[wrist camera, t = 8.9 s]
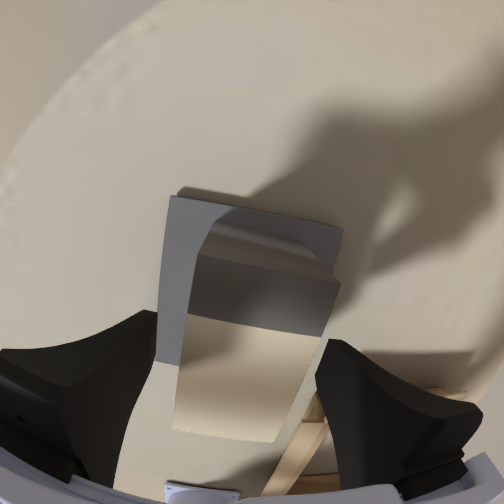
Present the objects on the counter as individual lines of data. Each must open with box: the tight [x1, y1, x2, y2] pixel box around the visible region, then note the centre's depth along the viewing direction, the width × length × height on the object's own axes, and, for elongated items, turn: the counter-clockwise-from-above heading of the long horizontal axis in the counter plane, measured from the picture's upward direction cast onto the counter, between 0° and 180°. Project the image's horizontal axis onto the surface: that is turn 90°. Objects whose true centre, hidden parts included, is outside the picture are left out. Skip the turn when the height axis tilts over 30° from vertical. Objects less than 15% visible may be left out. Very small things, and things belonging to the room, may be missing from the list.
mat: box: [155, 195, 343, 366], centre depth 15 cm, size 10×9×1 cm
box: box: [172, 221, 341, 443], centre depth 12 cm, size 8×4×6 cm, turn 167°
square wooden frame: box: [259, 387, 468, 497], centre depth 19 cm, size 16×16×3 cm
